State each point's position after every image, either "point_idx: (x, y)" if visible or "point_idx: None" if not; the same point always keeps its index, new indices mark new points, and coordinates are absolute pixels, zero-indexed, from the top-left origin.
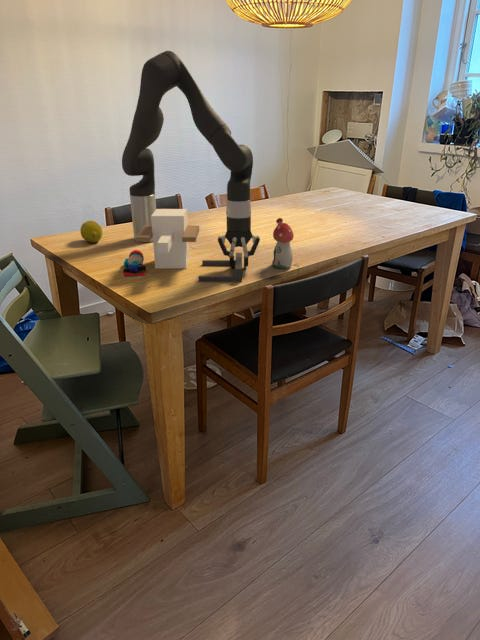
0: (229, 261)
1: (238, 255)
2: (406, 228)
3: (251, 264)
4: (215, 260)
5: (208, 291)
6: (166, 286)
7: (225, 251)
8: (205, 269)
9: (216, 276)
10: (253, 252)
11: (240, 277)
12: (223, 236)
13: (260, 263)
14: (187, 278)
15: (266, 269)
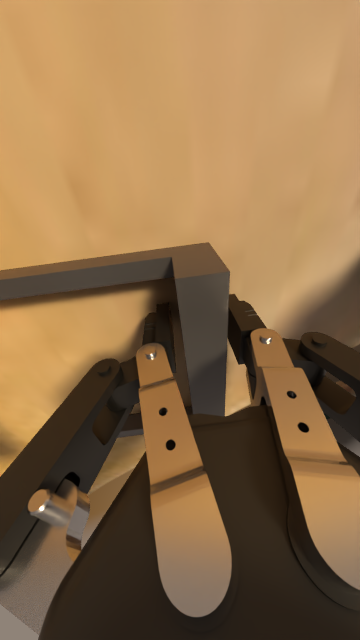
0: (133, 281)
1: (202, 335)
2: None
3: (268, 232)
4: (33, 283)
5: (135, 454)
6: (14, 454)
7: (118, 420)
8: (36, 341)
9: (133, 433)
10: (318, 387)
11: None
12: (45, 614)
13: (332, 202)
14: (30, 415)
15: (328, 302)
